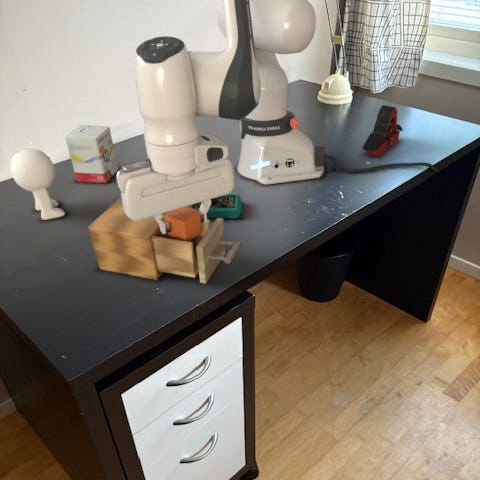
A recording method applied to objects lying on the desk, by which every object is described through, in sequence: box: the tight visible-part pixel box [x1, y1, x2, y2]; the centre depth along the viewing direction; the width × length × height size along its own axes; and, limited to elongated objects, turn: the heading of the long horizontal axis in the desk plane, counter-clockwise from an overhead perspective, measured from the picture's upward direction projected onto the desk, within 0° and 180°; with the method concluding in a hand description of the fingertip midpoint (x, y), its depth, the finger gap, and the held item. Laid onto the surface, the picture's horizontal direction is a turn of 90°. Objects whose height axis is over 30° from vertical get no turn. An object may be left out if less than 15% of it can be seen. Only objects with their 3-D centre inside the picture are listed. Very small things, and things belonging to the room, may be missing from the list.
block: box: [165, 206, 202, 242], centre depth 87 cm, size 4×4×4 cm
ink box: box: [64, 124, 119, 184], centre depth 122 cm, size 9×9×12 cm
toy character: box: [9, 148, 66, 221], centre depth 107 cm, size 9×9×15 cm
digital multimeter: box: [186, 193, 243, 220], centre depth 108 cm, size 7×15×3 cm, turn 89°
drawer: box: [152, 218, 242, 284], centre depth 90 cm, size 16×10×8 cm, turn 71°
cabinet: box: [88, 197, 170, 281], centre depth 93 cm, size 13×12×10 cm
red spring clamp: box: [361, 104, 404, 158], centre depth 128 cm, size 18×4×11 cm, turn 142°
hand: (184, 226), depth 88 cm, fingers closed on block, 6 cm apart
